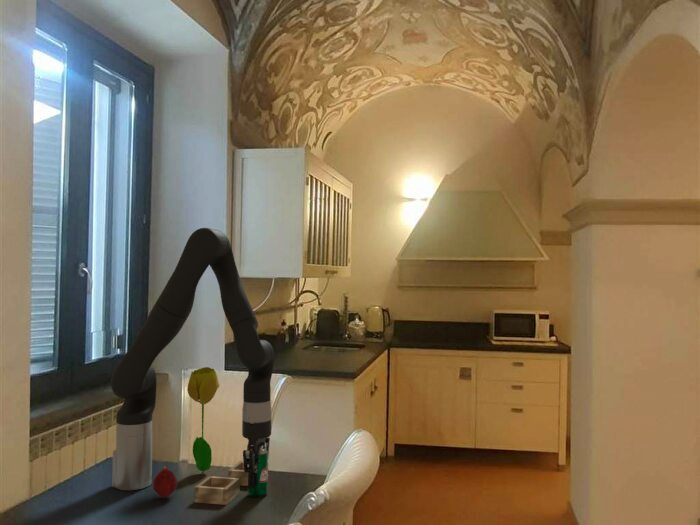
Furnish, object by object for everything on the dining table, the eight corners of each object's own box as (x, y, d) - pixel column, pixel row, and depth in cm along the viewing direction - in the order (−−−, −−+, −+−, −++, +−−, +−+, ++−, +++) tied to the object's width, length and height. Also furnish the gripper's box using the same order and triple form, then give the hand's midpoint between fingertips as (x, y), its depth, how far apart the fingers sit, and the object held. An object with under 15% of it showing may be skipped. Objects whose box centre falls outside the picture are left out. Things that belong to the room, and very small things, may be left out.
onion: (181, 496, 158) (181, 464, 158) (166, 503, 153) (166, 471, 153) (164, 492, 160) (164, 461, 160) (148, 499, 155) (148, 468, 155)
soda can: (263, 498, 156) (264, 451, 156) (245, 497, 157) (245, 450, 157) (270, 491, 161) (270, 446, 161) (252, 490, 162) (252, 444, 162)
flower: (195, 468, 181) (195, 366, 181) (221, 469, 179) (222, 366, 180) (183, 477, 172) (184, 370, 173) (210, 478, 171) (211, 371, 172)
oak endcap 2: (228, 484, 167) (228, 470, 167) (239, 474, 175) (239, 461, 175) (257, 486, 165) (257, 472, 165) (268, 476, 173) (268, 462, 173)
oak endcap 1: (194, 502, 153) (194, 487, 153) (209, 490, 162) (209, 476, 162) (226, 504, 152) (226, 489, 152) (239, 492, 160) (239, 478, 160)
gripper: (253, 411, 167) (252, 473, 167) (232, 423, 153) (232, 492, 153) (279, 412, 166) (279, 475, 165) (261, 425, 152) (260, 494, 151)
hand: (256, 483), depth 159 cm, fingers closed on soda can, 5 cm apart
